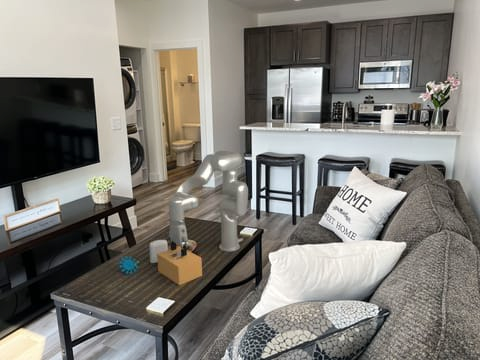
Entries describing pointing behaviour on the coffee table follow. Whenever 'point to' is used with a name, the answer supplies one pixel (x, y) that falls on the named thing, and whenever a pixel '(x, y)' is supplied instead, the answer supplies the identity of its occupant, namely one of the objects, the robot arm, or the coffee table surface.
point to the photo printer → (157, 249)
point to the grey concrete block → (176, 255)
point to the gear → (128, 265)
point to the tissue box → (179, 266)
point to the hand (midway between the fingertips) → (178, 252)
